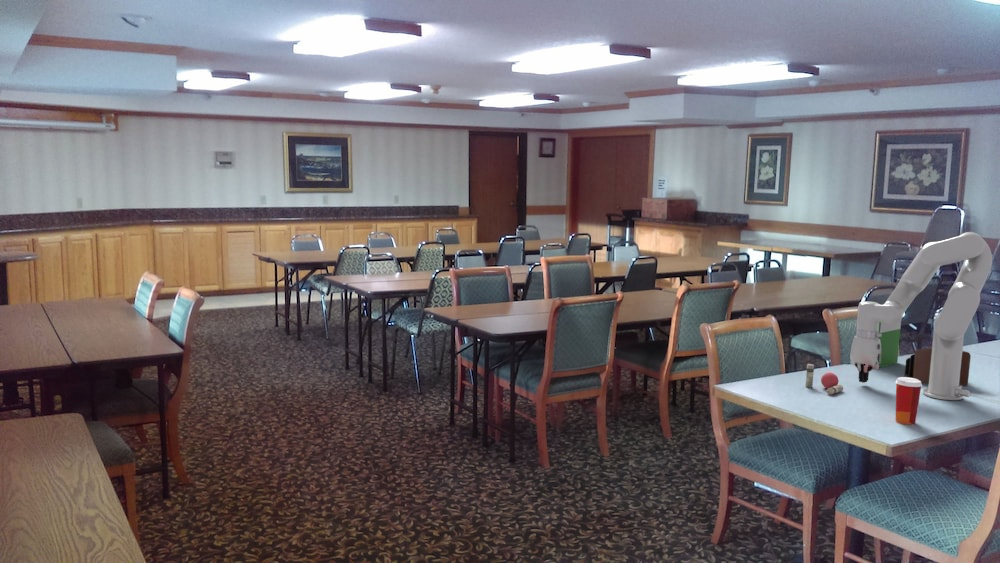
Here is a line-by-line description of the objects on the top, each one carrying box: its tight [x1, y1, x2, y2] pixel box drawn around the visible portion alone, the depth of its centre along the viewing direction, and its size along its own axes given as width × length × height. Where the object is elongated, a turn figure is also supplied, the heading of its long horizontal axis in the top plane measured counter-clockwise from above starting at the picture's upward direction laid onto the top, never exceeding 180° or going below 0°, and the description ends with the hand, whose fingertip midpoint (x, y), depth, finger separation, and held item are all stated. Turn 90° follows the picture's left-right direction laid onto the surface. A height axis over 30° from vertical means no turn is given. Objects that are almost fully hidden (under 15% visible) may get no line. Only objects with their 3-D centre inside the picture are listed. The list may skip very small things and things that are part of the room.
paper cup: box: [895, 376, 923, 426], centre depth 247 cm, size 8×8×14 cm
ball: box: [820, 372, 840, 389], centre depth 287 cm, size 6×6×6 cm
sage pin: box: [805, 363, 815, 389], centre depth 289 cm, size 2×2×8 cm
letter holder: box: [903, 347, 971, 385], centre depth 301 cm, size 10×20×14 cm, turn 79°
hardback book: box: [878, 320, 902, 368], centre depth 329 cm, size 18×7×24 cm, turn 128°
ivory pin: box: [825, 384, 844, 396], centre depth 281 cm, size 2×2×8 cm
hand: (863, 381), depth 293 cm, fingers closed
